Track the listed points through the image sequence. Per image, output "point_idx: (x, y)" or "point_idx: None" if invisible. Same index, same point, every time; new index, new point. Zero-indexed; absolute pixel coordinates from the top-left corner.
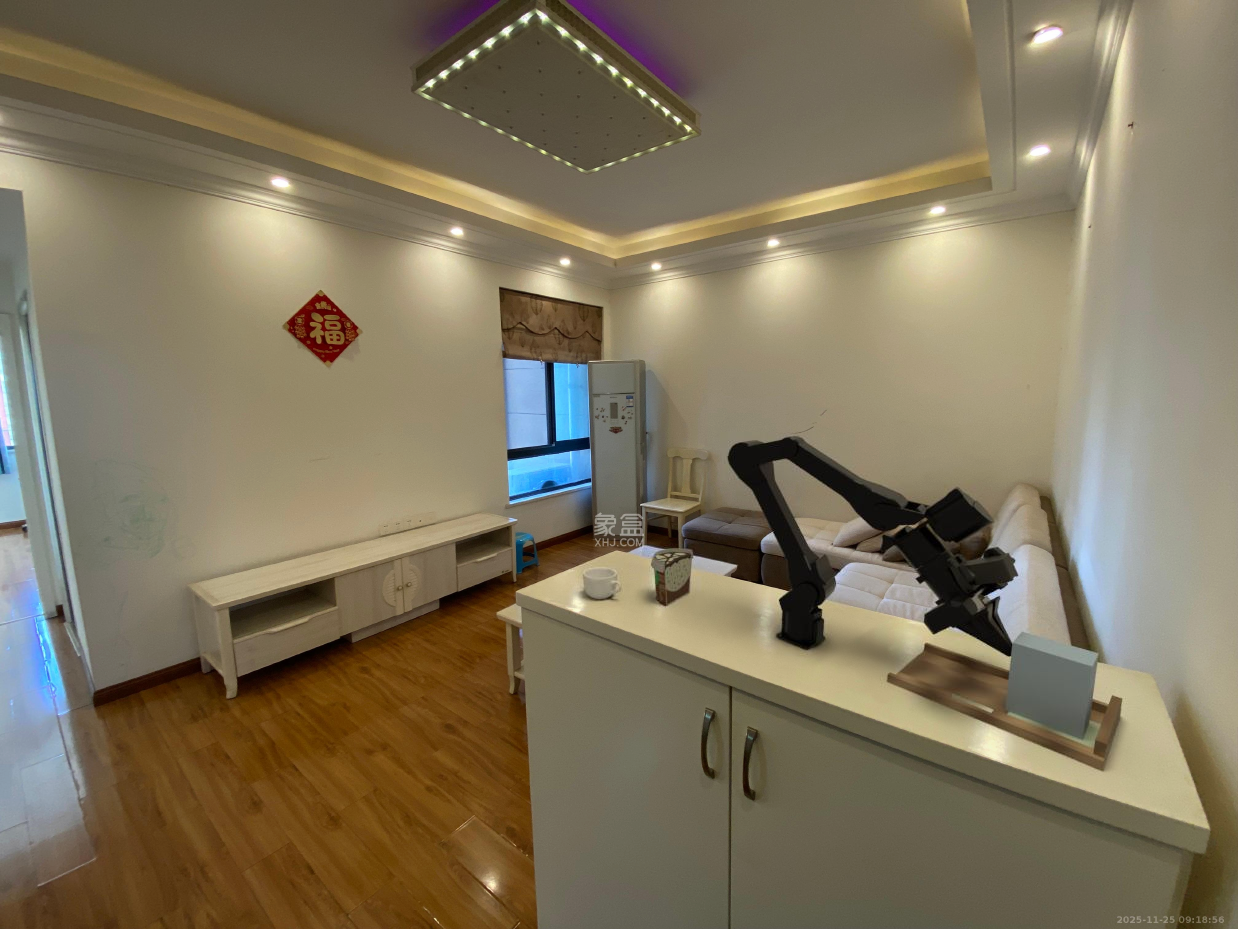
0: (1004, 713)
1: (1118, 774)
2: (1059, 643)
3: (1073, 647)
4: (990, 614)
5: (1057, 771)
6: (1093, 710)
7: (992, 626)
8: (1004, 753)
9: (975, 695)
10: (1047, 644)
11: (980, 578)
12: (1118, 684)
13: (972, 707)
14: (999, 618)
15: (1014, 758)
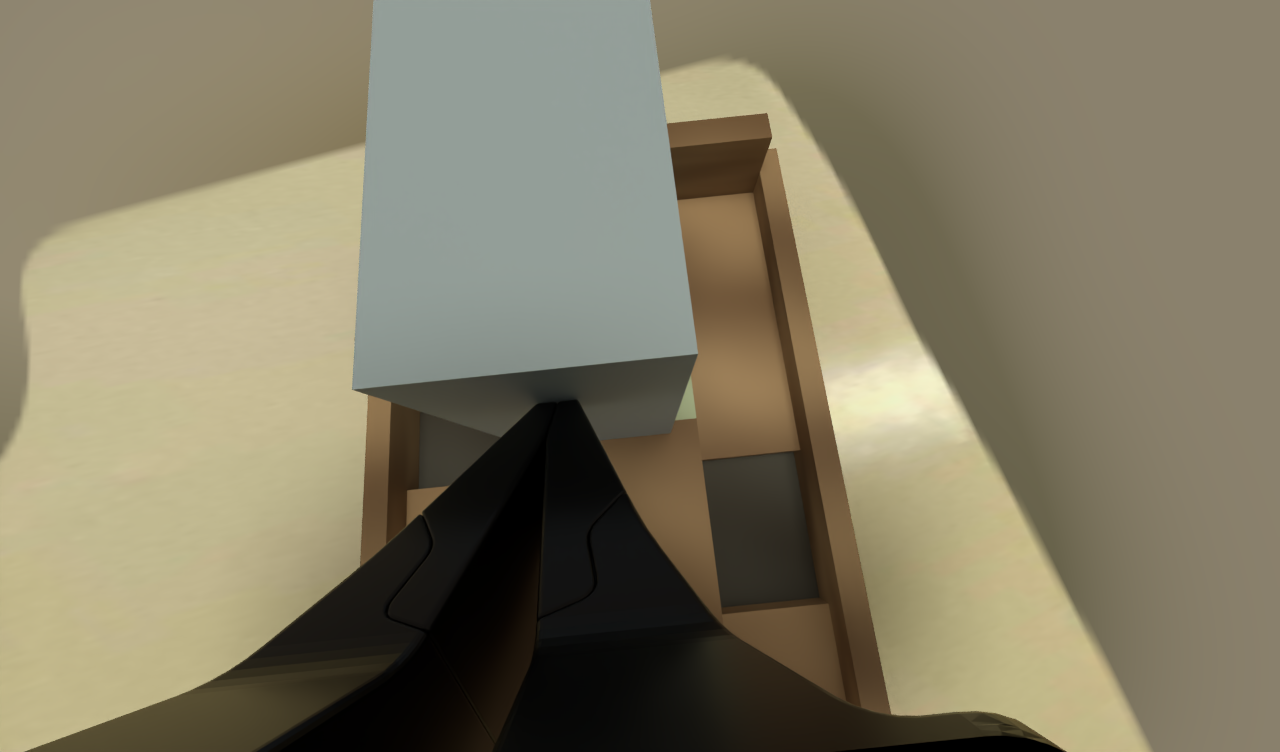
0: (697, 426)
1: None
2: (393, 141)
3: (396, 71)
4: (644, 667)
5: (833, 252)
6: None
7: (669, 561)
8: (887, 362)
9: (659, 544)
10: (487, 185)
11: None
12: (104, 281)
13: (837, 493)
14: (347, 595)
15: (884, 336)
